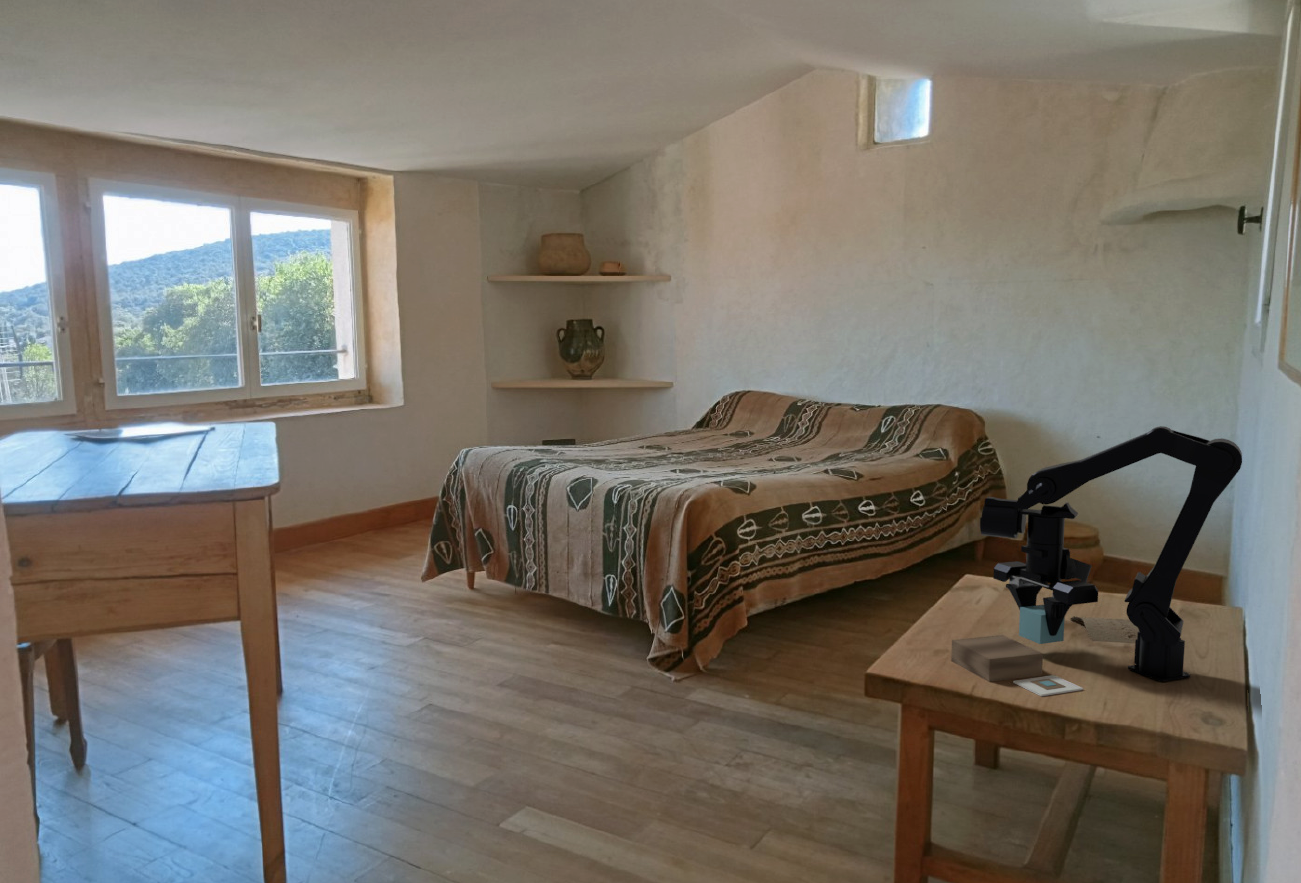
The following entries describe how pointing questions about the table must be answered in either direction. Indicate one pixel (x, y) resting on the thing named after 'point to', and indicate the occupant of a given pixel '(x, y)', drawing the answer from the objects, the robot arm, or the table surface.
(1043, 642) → the teal cube
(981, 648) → the walnut block
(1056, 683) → the card
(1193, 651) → the table surface
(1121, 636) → the clay tablet
